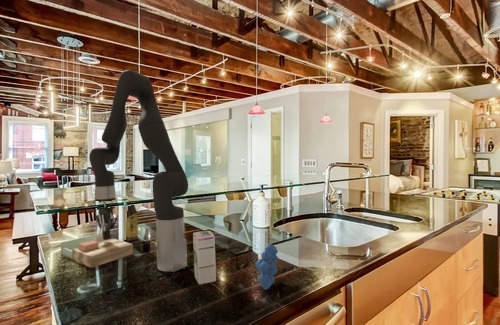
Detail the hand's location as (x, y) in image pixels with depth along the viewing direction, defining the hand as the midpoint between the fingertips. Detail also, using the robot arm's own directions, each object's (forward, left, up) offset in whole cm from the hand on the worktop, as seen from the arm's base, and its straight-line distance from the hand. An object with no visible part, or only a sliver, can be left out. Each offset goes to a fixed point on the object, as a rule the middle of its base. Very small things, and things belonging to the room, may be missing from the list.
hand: (106, 239), depth 115 cm
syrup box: (-52, -3, -5) cm, 52 cm away
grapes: (-70, -10, -5) cm, 71 cm away
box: (+7, +4, -5) cm, 10 cm away
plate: (-5, +4, -5) cm, 8 cm away
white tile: (+4, 0, -2) cm, 4 cm away
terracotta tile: (-2, +8, -1) cm, 8 cm away
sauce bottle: (+7, -15, -5) cm, 18 cm away
